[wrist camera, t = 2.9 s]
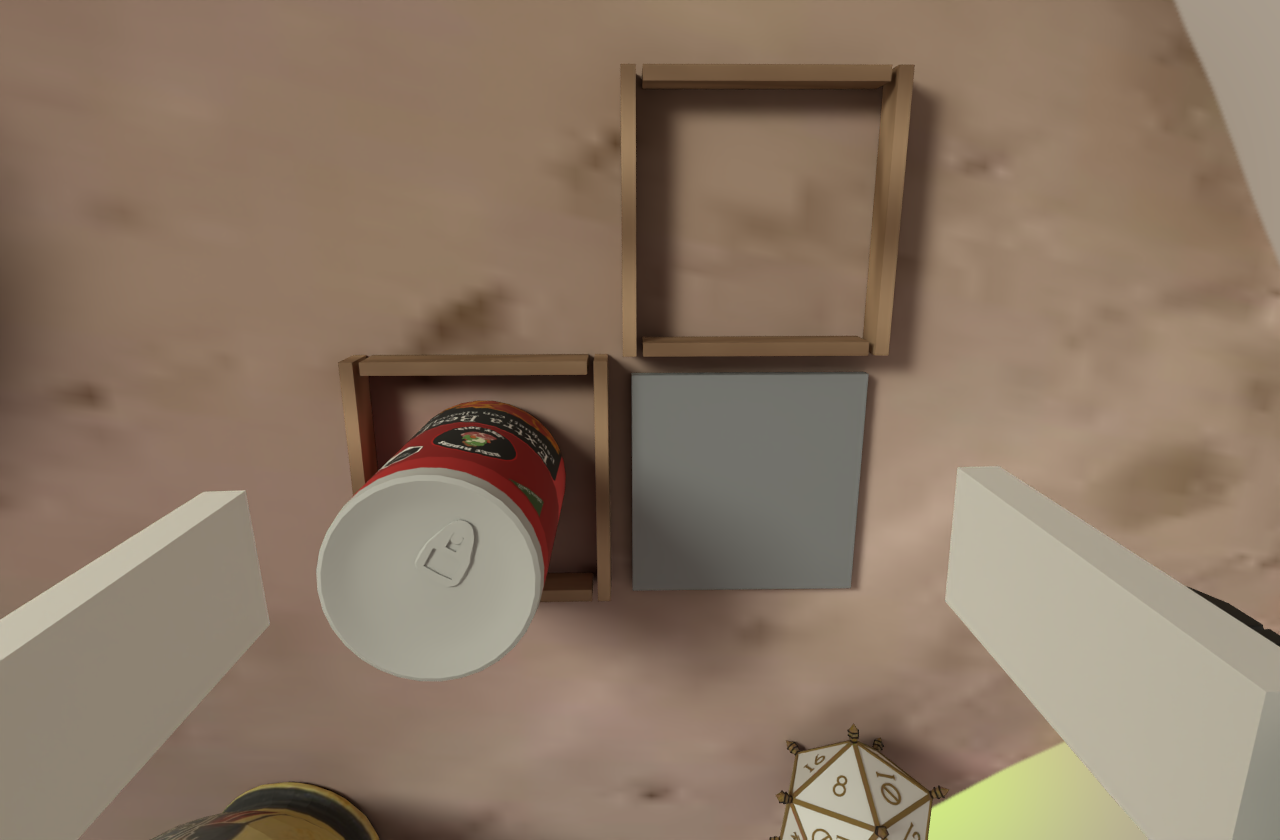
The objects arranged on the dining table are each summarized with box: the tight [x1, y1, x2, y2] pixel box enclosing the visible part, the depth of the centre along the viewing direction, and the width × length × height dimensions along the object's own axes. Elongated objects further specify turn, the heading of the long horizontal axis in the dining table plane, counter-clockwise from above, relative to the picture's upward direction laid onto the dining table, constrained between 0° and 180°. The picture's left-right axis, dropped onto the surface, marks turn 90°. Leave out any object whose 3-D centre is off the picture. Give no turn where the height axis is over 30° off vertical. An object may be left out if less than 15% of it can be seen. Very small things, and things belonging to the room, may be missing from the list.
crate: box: [338, 354, 611, 602], centre depth 34 cm, size 12×12×2 cm
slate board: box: [632, 372, 868, 591], centre depth 35 cm, size 11×11×1 cm
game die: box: [769, 724, 949, 840], centre depth 36 cm, size 9×8×10 cm
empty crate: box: [620, 64, 915, 357], centre depth 31 cm, size 12×12×2 cm
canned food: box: [316, 401, 566, 681], centre depth 30 cm, size 8×8×11 cm
